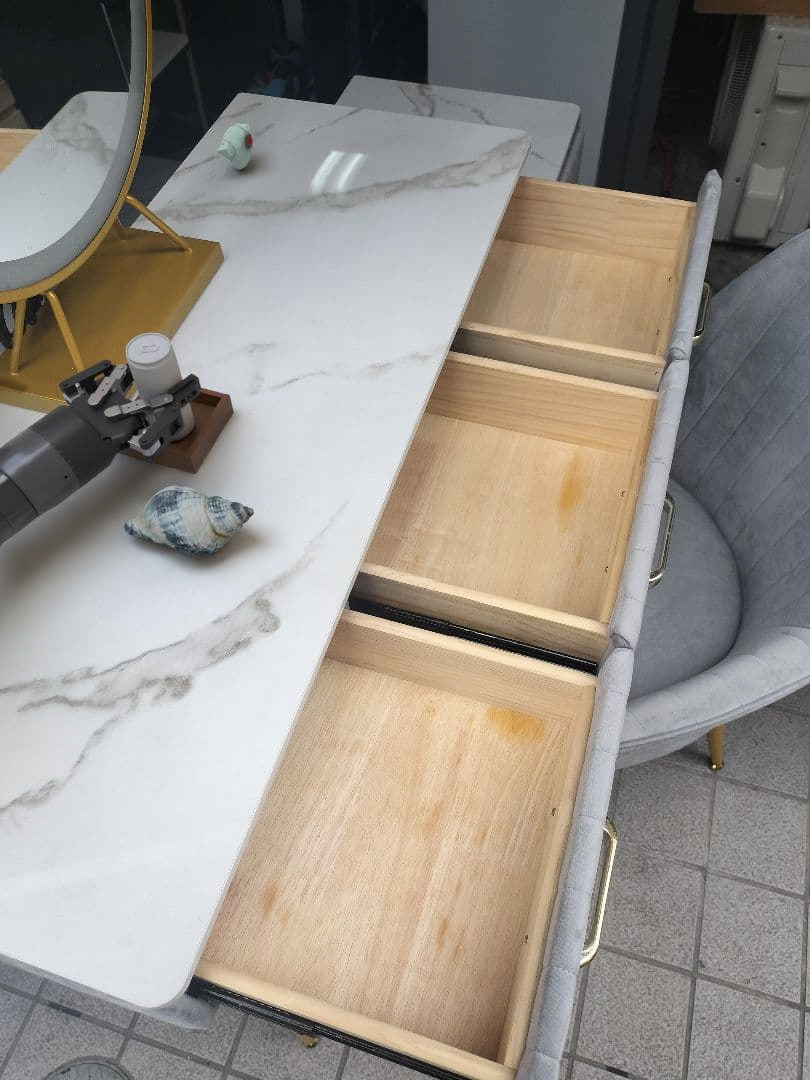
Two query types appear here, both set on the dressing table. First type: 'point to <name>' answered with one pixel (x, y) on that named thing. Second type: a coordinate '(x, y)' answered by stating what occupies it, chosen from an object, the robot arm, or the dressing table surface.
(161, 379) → the beverage can
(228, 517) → the seashell
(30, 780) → the dressing table surface
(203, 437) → the tray
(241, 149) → the robot head
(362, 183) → the dressing table surface
